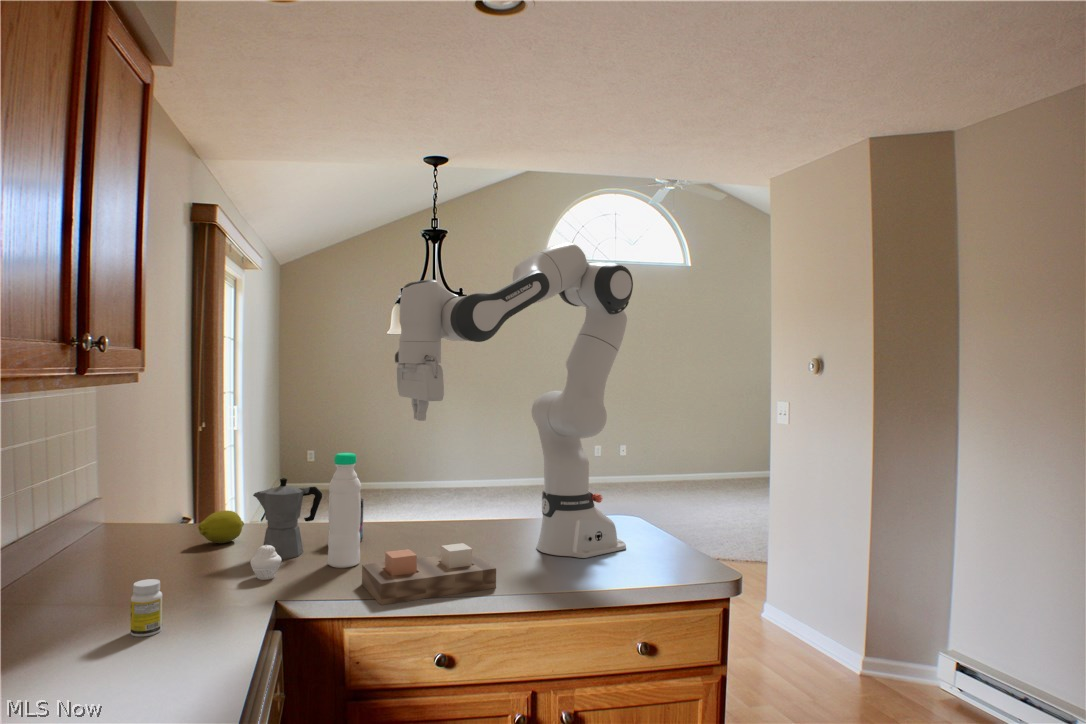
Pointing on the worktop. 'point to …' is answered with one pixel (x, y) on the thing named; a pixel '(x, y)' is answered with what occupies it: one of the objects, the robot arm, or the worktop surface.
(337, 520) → the water bottle
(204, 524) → the lemon
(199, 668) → the worktop surface
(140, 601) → the supplement bottle
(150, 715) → the worktop surface
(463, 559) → the cream key
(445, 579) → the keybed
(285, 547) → the coffeepot
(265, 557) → the muffin
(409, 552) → the terracotta key
